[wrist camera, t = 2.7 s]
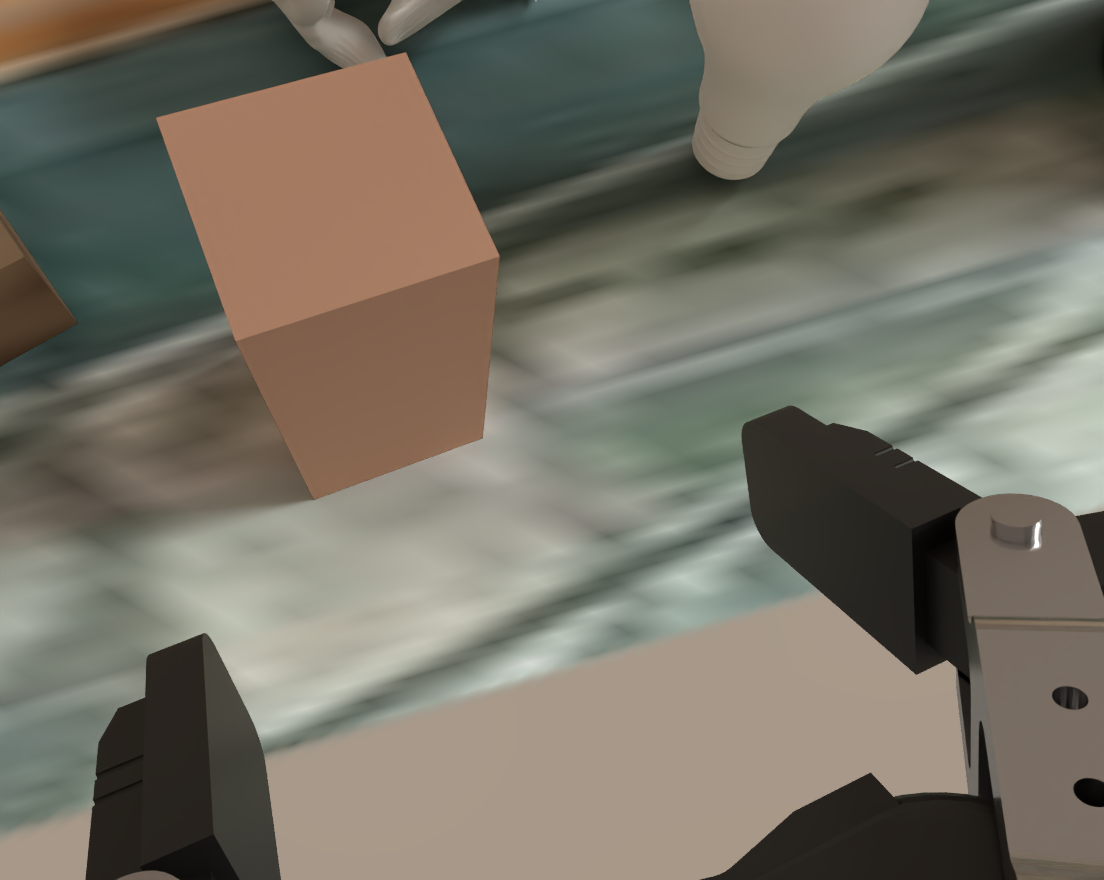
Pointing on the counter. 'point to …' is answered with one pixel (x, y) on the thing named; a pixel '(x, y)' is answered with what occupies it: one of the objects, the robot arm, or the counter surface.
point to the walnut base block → (26, 299)
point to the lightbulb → (783, 68)
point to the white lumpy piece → (358, 27)
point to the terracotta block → (345, 265)
